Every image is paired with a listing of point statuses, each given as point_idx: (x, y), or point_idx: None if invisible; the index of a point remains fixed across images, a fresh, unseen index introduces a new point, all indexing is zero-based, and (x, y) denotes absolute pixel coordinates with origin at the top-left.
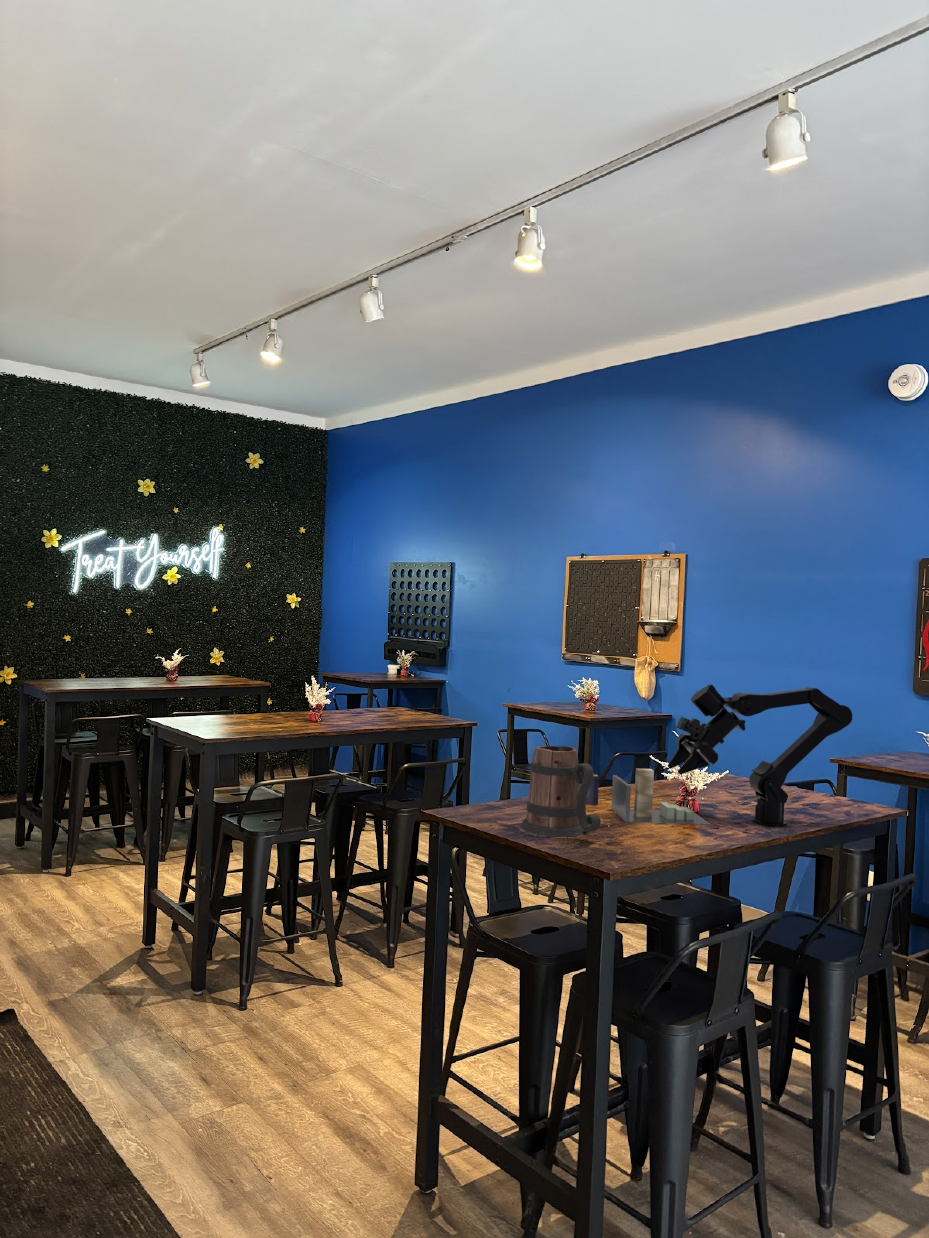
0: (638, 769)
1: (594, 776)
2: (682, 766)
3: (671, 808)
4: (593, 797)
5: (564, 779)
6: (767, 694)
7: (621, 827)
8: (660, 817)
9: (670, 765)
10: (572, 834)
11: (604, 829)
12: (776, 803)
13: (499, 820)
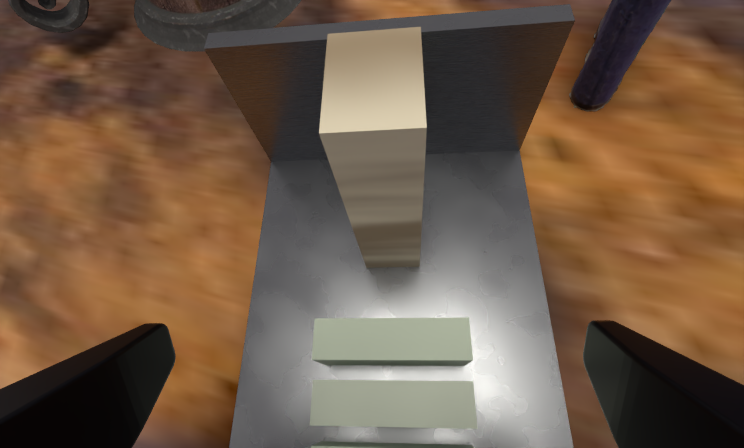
0: (365, 36)
1: None
2: (56, 365)
3: (313, 342)
4: (588, 60)
5: None
6: None
7: (251, 143)
8: (365, 307)
9: (599, 357)
10: (138, 12)
11: (225, 93)
12: None
13: None
